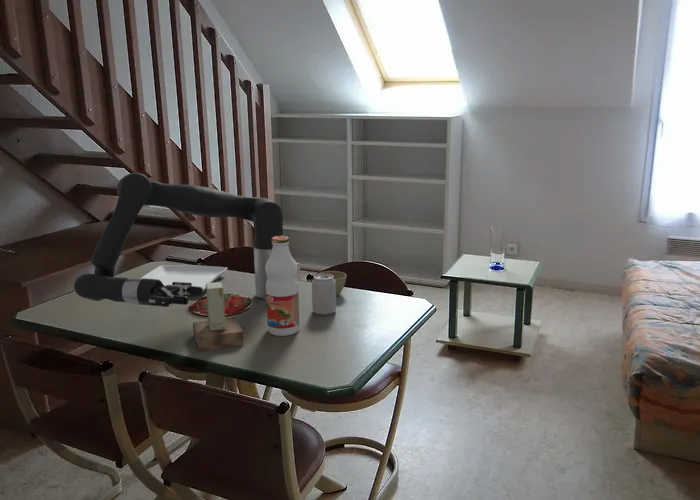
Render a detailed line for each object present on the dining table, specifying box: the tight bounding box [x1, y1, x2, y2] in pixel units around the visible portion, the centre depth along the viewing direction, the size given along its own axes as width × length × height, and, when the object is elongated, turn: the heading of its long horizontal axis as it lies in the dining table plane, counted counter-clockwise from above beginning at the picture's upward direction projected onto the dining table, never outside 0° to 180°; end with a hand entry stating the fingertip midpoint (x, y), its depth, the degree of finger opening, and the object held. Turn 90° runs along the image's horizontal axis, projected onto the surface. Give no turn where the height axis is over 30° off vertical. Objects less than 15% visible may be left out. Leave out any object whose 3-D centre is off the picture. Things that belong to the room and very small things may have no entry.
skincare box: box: [205, 281, 226, 331], centre depth 170 cm, size 6×4×12 cm
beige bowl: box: [318, 270, 347, 298], centre depth 209 cm, size 10×10×7 cm
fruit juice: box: [265, 235, 301, 337], centre depth 176 cm, size 9×9×28 cm
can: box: [311, 273, 337, 316], centre depth 192 cm, size 8×8×12 cm
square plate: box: [141, 264, 228, 294], centre depth 222 cm, size 27×27×4 cm
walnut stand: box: [192, 316, 245, 352], centre depth 172 cm, size 12×12×4 cm
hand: (195, 295), depth 171 cm, fingers open, 8 cm apart
